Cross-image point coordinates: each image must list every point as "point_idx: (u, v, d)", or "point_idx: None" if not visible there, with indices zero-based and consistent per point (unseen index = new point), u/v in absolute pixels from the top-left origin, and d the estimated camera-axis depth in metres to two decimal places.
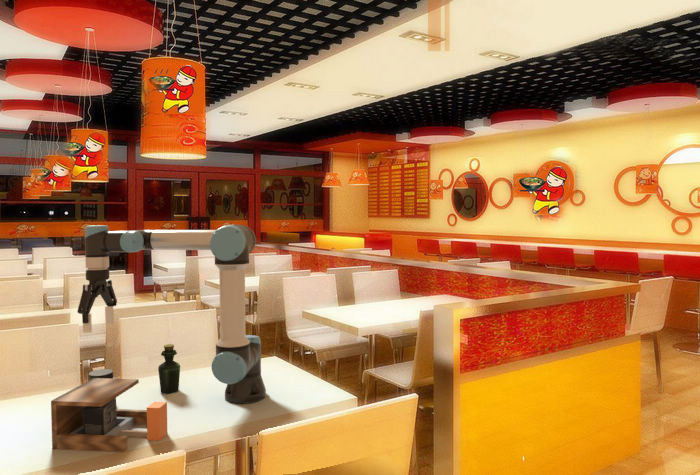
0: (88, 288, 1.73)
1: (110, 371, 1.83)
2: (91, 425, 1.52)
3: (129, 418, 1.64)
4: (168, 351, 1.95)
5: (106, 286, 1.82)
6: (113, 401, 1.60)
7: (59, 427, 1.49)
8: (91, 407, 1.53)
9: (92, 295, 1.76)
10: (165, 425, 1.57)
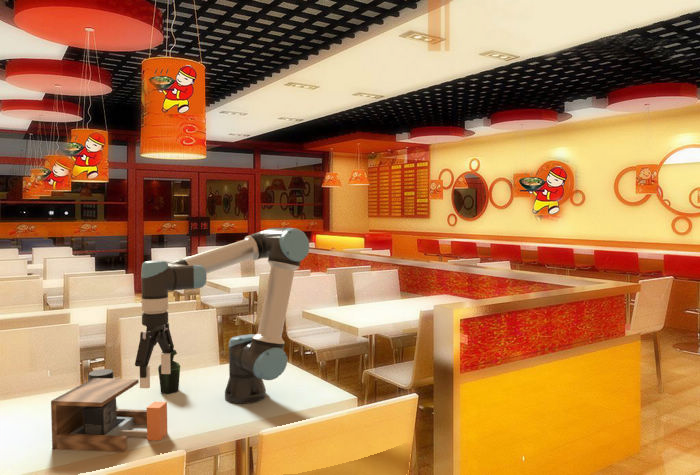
0: (146, 336, 1.48)
1: (110, 371, 1.83)
2: (91, 425, 1.52)
3: (129, 418, 1.64)
4: None
5: (164, 331, 1.57)
6: (113, 401, 1.60)
7: (59, 427, 1.49)
8: (91, 407, 1.53)
9: (150, 343, 1.51)
10: (165, 425, 1.57)
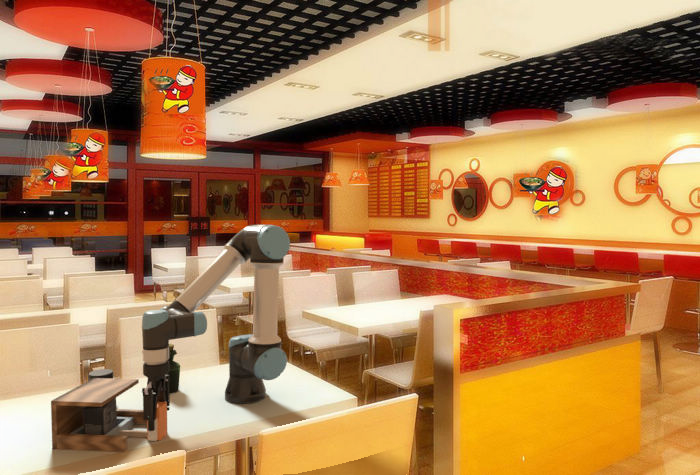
0: (149, 393, 1.49)
1: (110, 371, 1.83)
2: (91, 425, 1.52)
3: (129, 418, 1.64)
4: None
5: (165, 381, 1.57)
6: (113, 401, 1.60)
7: (59, 427, 1.49)
8: (91, 407, 1.53)
9: (153, 396, 1.53)
10: (165, 425, 1.57)
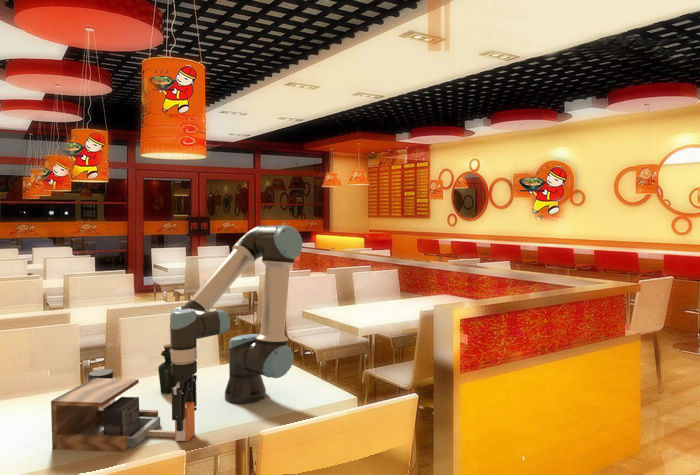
0: (177, 393, 1.48)
1: (110, 371, 1.83)
2: (111, 426, 1.52)
3: (155, 418, 1.63)
4: (168, 351, 1.95)
5: (193, 381, 1.56)
6: (135, 402, 1.59)
7: (59, 427, 1.49)
8: (111, 408, 1.52)
9: (182, 396, 1.52)
10: (193, 425, 1.56)
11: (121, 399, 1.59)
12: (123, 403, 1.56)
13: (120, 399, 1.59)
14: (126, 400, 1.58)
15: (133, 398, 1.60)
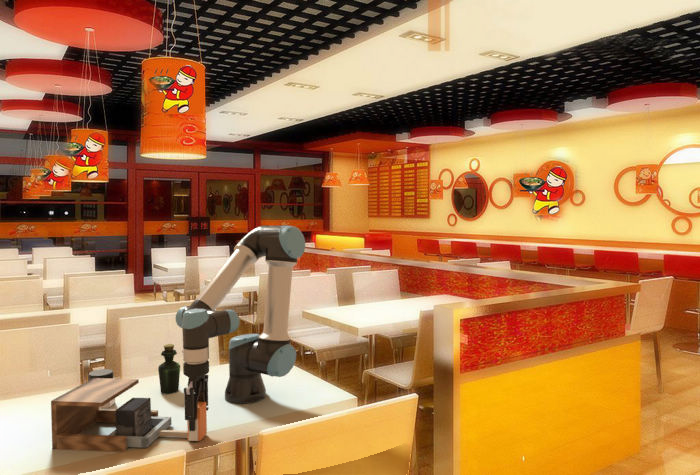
0: (190, 393, 1.48)
1: (110, 371, 1.83)
2: (123, 427, 1.51)
3: (167, 418, 1.63)
4: (168, 351, 1.95)
5: (205, 381, 1.56)
6: (147, 403, 1.59)
7: (59, 427, 1.49)
8: (123, 408, 1.52)
9: (194, 396, 1.52)
10: (205, 425, 1.56)
11: (133, 400, 1.59)
12: (135, 403, 1.55)
13: (132, 400, 1.59)
14: (138, 401, 1.58)
15: (144, 399, 1.59)
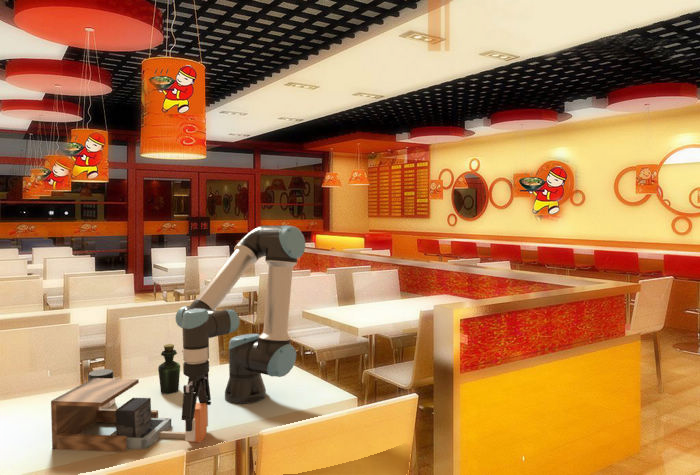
0: (190, 390, 1.47)
1: (110, 371, 1.83)
2: (123, 427, 1.51)
3: (166, 420, 1.63)
4: (168, 351, 1.95)
5: (205, 380, 1.56)
6: (147, 403, 1.58)
7: (59, 427, 1.49)
8: (123, 409, 1.52)
9: (193, 395, 1.51)
10: (205, 426, 1.56)
11: (133, 400, 1.59)
12: (135, 403, 1.55)
13: (132, 400, 1.59)
14: (138, 401, 1.57)
15: (144, 399, 1.59)
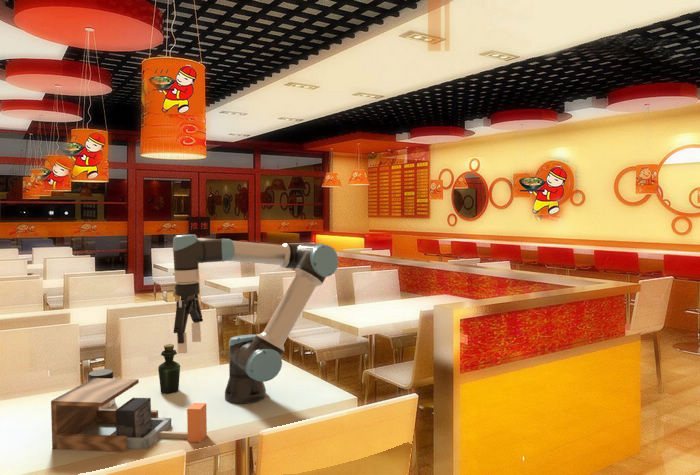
0: (183, 305, 1.58)
1: (110, 371, 1.83)
2: (123, 427, 1.51)
3: (166, 420, 1.63)
4: (168, 351, 1.95)
5: (195, 301, 1.67)
6: (147, 403, 1.58)
7: (59, 427, 1.49)
8: (123, 409, 1.52)
9: (185, 312, 1.61)
10: (205, 426, 1.56)
11: (133, 400, 1.59)
12: (135, 403, 1.55)
13: (132, 400, 1.59)
14: (138, 401, 1.57)
15: (144, 399, 1.59)
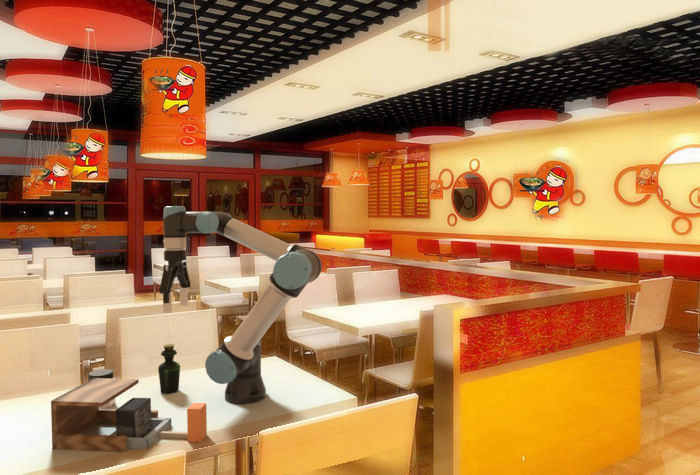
0: (169, 268, 1.74)
1: (110, 371, 1.83)
2: (123, 427, 1.51)
3: (166, 420, 1.63)
4: (168, 351, 1.95)
5: (183, 267, 1.83)
6: (147, 403, 1.58)
7: (59, 427, 1.49)
8: (123, 409, 1.52)
9: (171, 275, 1.77)
10: (205, 426, 1.56)
11: (133, 400, 1.59)
12: (135, 403, 1.55)
13: (132, 400, 1.59)
14: (138, 401, 1.58)
15: (144, 399, 1.59)
